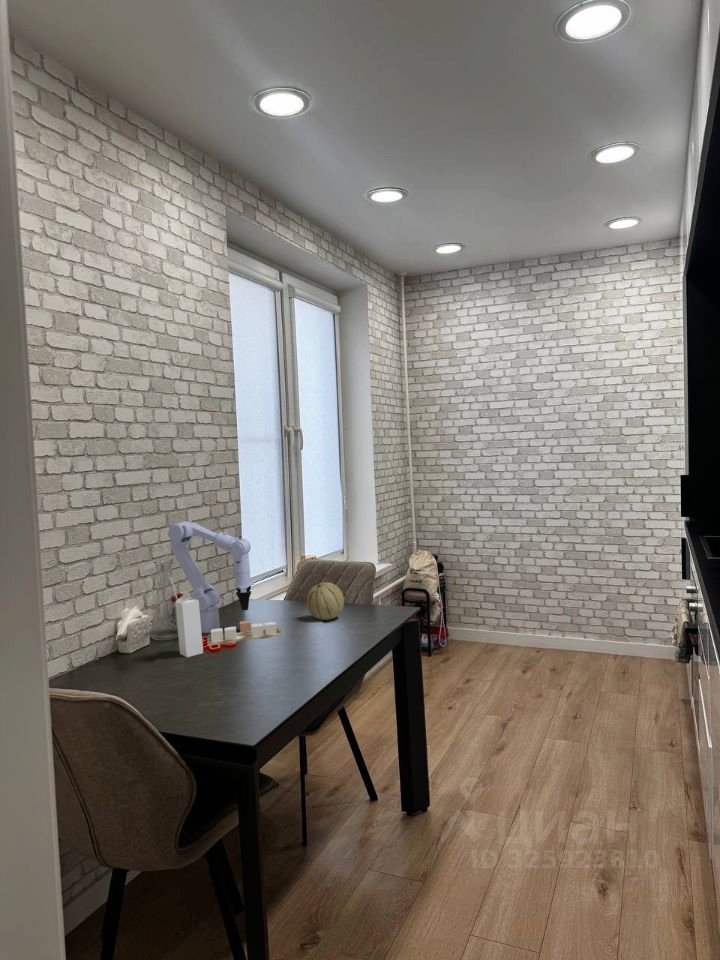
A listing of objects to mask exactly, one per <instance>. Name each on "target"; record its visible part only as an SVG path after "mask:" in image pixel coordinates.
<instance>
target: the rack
mask: <svg viewBox="0 0 720 960" xmlns="http://www.w3.org/2000/svg"><path fill="white" fill-rule="evenodd" d="M280 626H281V625H279V626H278V625H276V629H277V633H276V634H268V635H266V634H265V629H263V635H260V636H252V630H251V631H248V632H236V634H237V638H236V639H228V640H225V633H223V640H220V641H212V640H211V634H207V639H206V641H207V642H206V643H207V646H214V645H215V646H216V645H223V644H229V643H230V644H231V643H232V644H233V643H238V642H239V643H240V642H247V641H255V640H261V639H262V640H263V639H264V640H265V639H271V638H278V637H282V632H281V631H282V630H281V627H280Z"/></svg>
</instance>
